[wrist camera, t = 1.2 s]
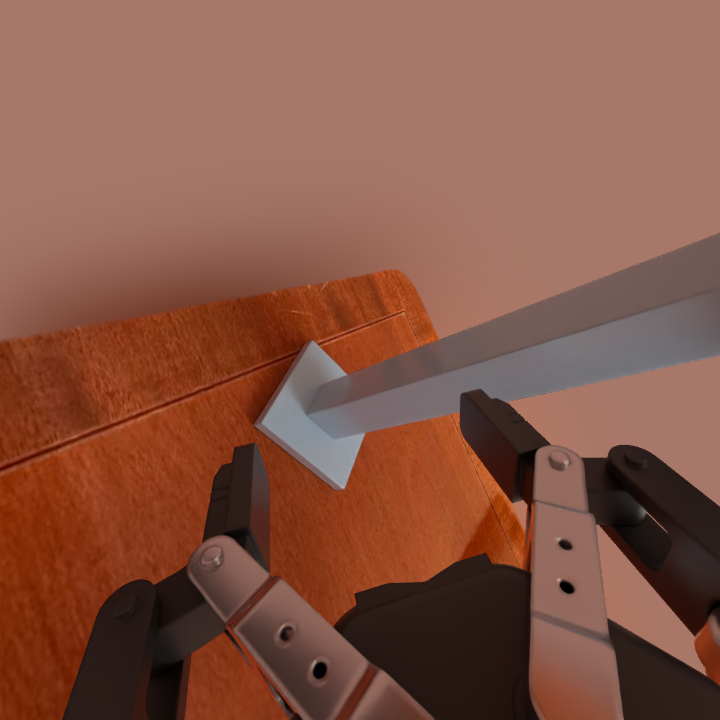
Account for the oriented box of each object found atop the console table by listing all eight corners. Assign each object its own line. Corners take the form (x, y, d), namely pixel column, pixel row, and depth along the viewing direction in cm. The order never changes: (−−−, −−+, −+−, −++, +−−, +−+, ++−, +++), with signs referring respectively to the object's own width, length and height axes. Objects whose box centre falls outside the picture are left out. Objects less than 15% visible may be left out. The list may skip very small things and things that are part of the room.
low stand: (252, 425, 23) (934, 201, 7) (304, 343, 28) (758, 106, 12) (335, 490, 26) (931, 443, 10) (368, 405, 31) (794, 285, 15)
